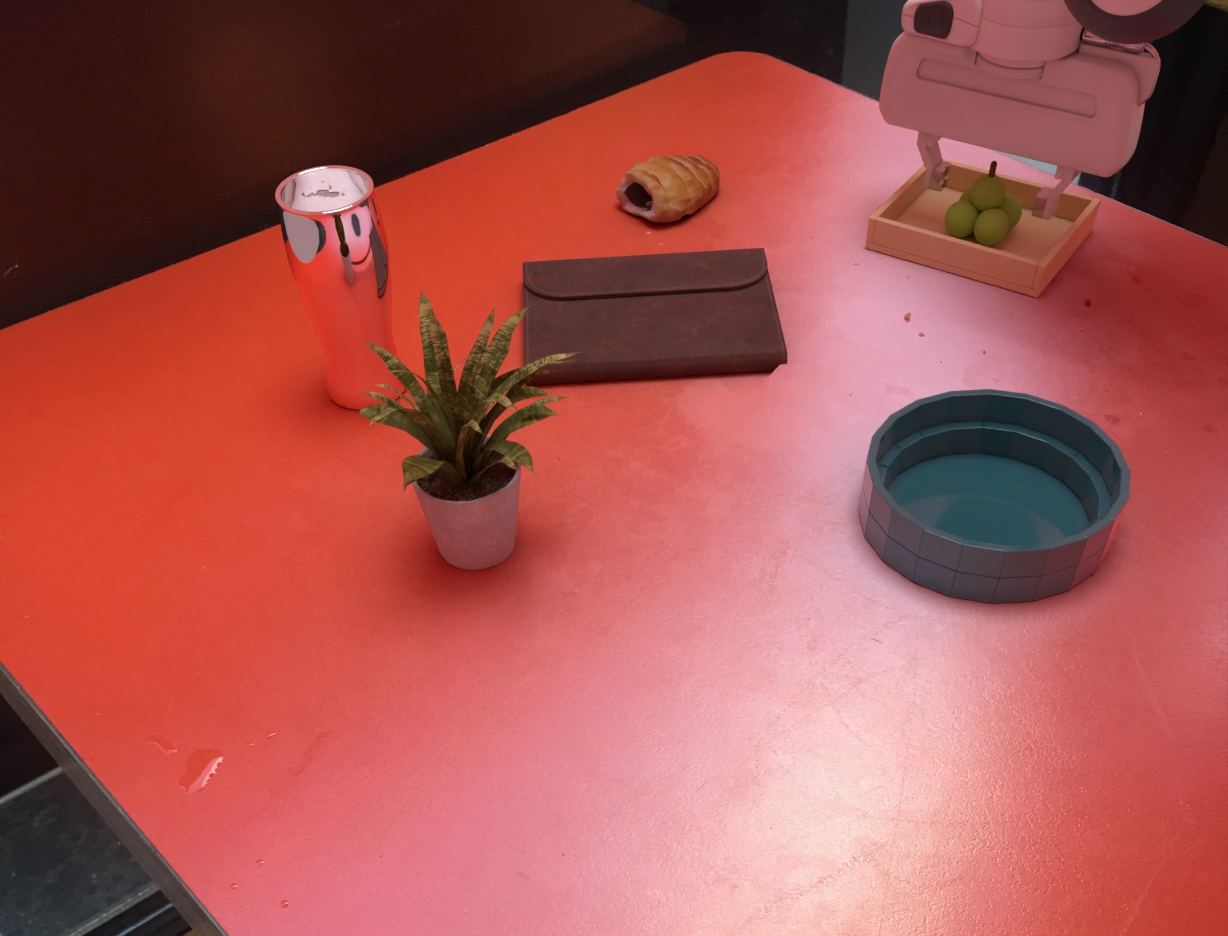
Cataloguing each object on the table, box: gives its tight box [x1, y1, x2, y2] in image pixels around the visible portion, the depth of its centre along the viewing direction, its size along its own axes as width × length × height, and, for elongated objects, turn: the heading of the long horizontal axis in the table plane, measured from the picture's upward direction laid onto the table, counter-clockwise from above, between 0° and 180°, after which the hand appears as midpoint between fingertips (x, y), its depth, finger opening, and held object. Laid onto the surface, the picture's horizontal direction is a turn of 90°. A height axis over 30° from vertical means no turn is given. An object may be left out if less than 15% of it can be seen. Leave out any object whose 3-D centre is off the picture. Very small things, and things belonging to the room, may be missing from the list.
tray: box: [864, 158, 1102, 298], centre depth 102 cm, size 15×12×3 cm
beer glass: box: [274, 164, 407, 411], centre depth 88 cm, size 7×7×15 cm
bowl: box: [857, 388, 1132, 604], centre depth 80 cm, size 16×16×5 cm
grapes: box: [944, 160, 1022, 246], centre depth 101 cm, size 5×5×6 cm
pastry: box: [615, 154, 721, 224], centre depth 107 cm, size 9×7×4 cm
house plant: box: [357, 289, 581, 571], centre depth 75 cm, size 14×14×16 cm
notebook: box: [522, 247, 788, 386], centre depth 97 cm, size 15×20×2 cm
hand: (988, 201), depth 101 cm, fingers open, 8 cm apart
